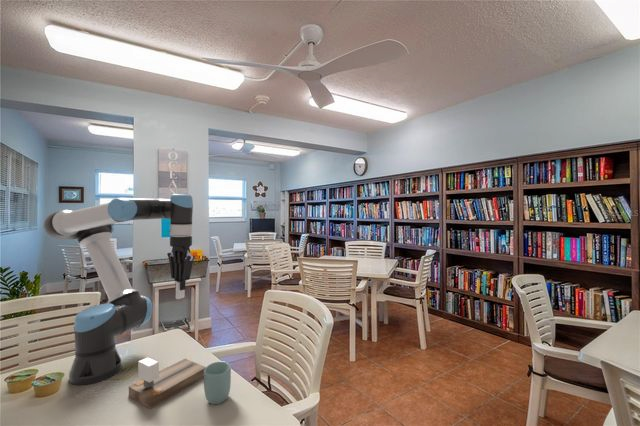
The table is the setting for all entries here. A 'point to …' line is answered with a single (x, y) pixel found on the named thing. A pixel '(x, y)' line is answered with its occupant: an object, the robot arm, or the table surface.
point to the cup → (217, 382)
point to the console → (167, 383)
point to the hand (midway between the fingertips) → (180, 298)
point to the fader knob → (148, 371)
